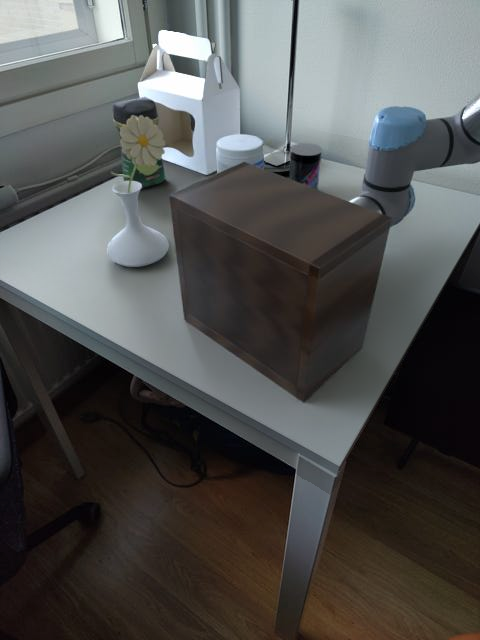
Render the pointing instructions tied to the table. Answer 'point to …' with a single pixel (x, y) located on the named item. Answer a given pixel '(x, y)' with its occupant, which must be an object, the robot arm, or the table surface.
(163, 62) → the gable box
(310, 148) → the supplement container
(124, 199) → the flower in vase
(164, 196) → the table surface
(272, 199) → the wooden storage box
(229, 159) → the supplement tub
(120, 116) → the coffee jar
